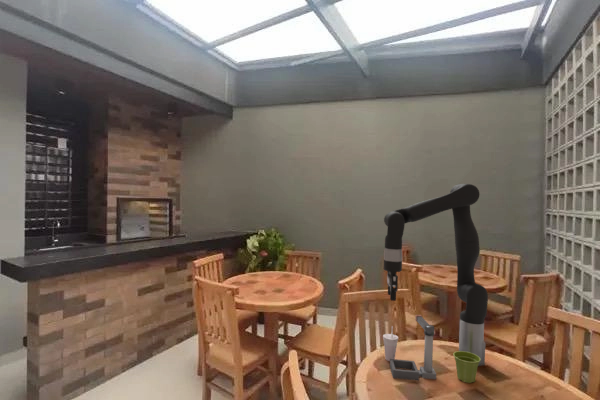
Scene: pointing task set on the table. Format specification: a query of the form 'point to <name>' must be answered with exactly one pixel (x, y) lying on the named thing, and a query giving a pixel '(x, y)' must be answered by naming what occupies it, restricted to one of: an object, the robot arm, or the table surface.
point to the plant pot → (466, 365)
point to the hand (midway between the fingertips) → (391, 297)
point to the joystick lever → (425, 325)
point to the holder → (415, 373)
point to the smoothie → (390, 345)
